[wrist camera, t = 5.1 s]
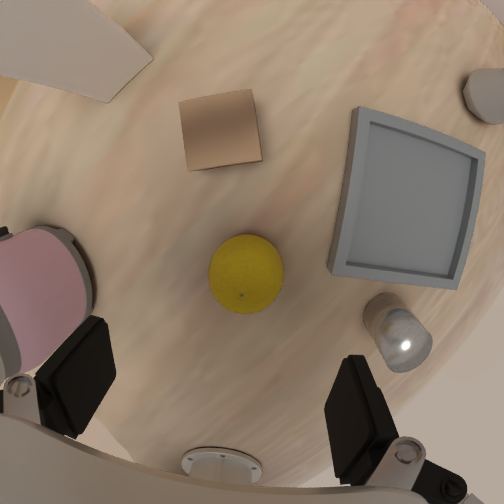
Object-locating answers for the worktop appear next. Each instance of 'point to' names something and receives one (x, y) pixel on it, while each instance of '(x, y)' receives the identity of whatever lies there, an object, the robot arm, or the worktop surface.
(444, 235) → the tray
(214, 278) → the lemon
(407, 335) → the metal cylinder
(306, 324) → the worktop surface
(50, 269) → the blender
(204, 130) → the walnut block
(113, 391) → the worktop surface
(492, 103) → the salt shaker
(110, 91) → the milk
